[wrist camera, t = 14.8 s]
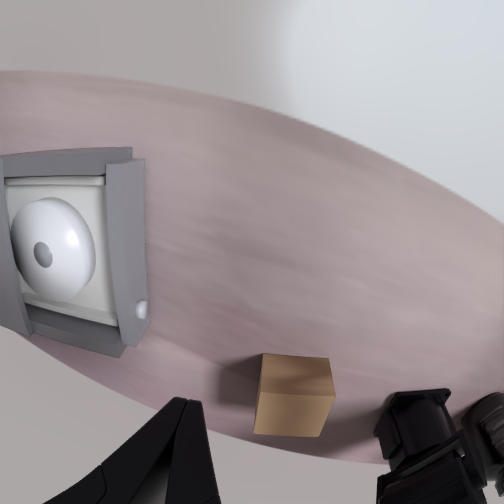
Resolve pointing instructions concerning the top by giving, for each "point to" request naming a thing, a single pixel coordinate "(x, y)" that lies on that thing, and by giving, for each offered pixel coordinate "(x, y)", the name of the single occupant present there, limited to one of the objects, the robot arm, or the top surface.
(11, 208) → the tray
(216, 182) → the top surface
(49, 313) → the player housing
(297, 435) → the block
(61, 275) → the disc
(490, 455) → the supplement bottle
